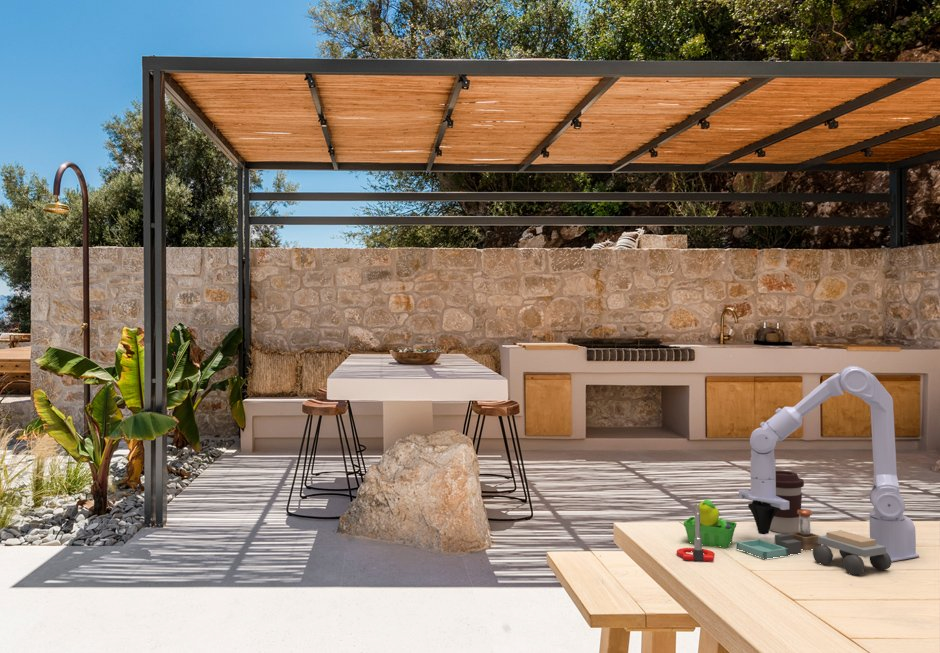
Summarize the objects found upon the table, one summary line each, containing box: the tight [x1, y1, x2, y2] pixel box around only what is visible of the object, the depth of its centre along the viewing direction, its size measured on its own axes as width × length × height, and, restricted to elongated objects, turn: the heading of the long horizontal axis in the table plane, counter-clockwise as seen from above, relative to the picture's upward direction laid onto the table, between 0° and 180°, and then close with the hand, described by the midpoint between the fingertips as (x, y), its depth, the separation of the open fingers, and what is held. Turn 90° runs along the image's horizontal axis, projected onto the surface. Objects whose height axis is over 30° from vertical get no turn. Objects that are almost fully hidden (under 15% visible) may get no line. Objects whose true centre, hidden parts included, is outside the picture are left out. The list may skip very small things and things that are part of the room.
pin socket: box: [789, 531, 822, 551], centre depth 181 cm, size 5×5×3 cm
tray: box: [735, 538, 789, 559], centre depth 176 cm, size 7×9×2 cm
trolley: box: [812, 529, 892, 576], centre depth 166 cm, size 12×10×7 cm
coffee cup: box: [769, 470, 805, 534], centre depth 197 cm, size 10×10×15 cm
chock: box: [774, 533, 802, 555], centre depth 177 cm, size 4×4×4 cm
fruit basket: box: [682, 499, 738, 548], centre depth 185 cm, size 11×9×11 cm
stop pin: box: [797, 508, 813, 537], centre depth 181 cm, size 3×3×9 cm
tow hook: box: [676, 503, 716, 562], centre depth 175 cm, size 8×13×9 cm
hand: (763, 533), depth 184 cm, fingers closed
